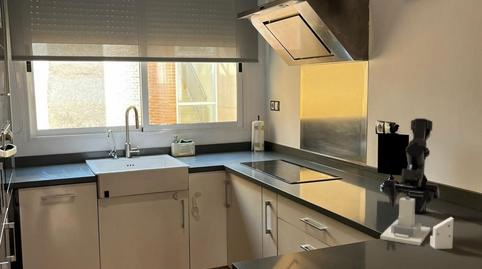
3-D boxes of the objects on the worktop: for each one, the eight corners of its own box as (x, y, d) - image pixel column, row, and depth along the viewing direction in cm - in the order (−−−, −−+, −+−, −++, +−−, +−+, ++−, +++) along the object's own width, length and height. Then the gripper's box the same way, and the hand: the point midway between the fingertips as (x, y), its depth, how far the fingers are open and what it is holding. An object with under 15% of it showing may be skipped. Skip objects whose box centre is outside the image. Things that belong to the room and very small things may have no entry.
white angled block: (465, 240, 157) (453, 218, 156) (438, 256, 157) (426, 233, 156) (460, 237, 161) (448, 215, 160) (433, 252, 161) (421, 230, 160)
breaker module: (401, 226, 174) (402, 194, 173) (414, 228, 172) (415, 196, 171) (397, 230, 170) (399, 197, 169) (411, 232, 168) (412, 199, 166)
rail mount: (393, 225, 182) (394, 214, 181) (430, 230, 175) (430, 220, 175) (380, 238, 167) (380, 227, 166) (419, 245, 160) (420, 233, 159)
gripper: (385, 157, 177) (375, 193, 169) (439, 162, 167) (431, 200, 159) (390, 175, 184) (381, 210, 176) (442, 180, 175) (435, 217, 167)
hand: (406, 209), depth 169 cm, fingers open, 9 cm apart
